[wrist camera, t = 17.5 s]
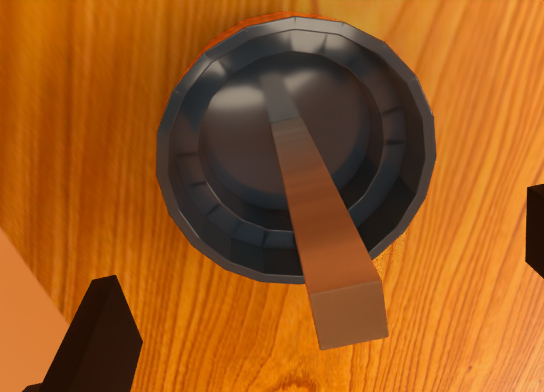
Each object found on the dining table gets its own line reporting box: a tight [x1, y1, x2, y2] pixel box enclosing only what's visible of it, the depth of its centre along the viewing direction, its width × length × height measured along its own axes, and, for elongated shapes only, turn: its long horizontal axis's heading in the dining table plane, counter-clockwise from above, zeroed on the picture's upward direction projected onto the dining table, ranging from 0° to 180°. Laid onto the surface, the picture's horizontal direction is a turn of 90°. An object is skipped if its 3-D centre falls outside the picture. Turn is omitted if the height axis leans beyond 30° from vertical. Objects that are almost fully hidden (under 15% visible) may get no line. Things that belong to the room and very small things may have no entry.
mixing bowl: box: [156, 11, 436, 284], centre depth 27 cm, size 14×14×6 cm
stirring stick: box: [270, 117, 389, 350], centre depth 21 cm, size 2×2×18 cm
